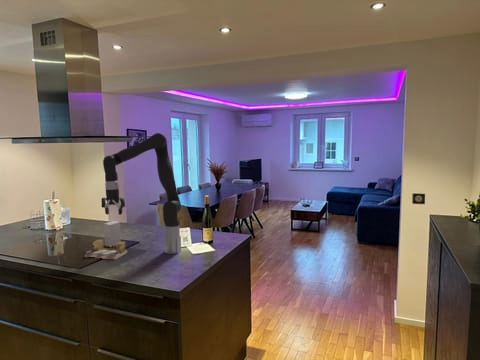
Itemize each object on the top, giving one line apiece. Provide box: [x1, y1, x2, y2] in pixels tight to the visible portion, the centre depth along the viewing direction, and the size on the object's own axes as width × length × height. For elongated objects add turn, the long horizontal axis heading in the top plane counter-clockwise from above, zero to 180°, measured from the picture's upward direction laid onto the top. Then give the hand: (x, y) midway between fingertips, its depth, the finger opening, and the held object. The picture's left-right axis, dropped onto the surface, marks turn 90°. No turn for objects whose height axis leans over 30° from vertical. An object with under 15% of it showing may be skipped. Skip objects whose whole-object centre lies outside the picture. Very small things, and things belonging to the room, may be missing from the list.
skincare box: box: [103, 220, 122, 248], centre depth 210 cm, size 8×7×16 cm
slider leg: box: [91, 239, 104, 251], centre depth 193 cm, size 3×8×6 cm, turn 170°
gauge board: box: [84, 241, 128, 260], centre depth 192 cm, size 20×13×8 cm, turn 80°
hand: (113, 214), depth 194 cm, fingers open, 8 cm apart
